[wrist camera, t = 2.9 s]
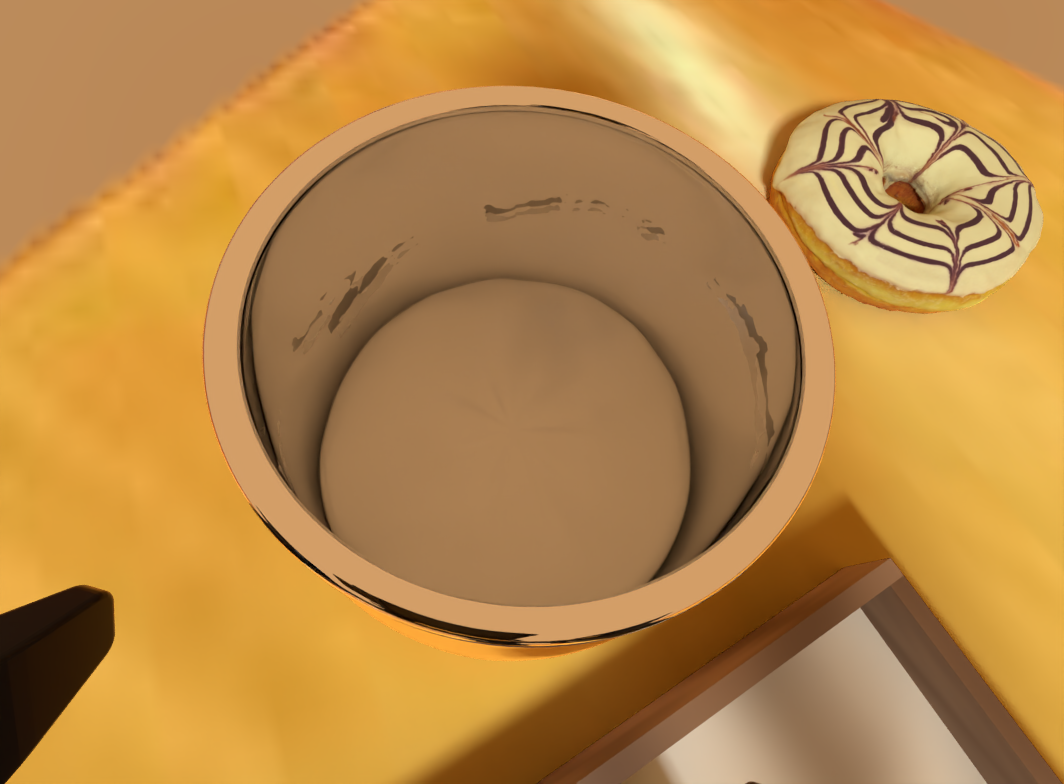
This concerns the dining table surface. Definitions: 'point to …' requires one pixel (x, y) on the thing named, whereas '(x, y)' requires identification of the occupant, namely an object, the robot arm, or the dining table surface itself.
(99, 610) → the robot arm
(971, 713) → the box
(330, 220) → the metal cup
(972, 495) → the dining table surface
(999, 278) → the decorated donut
